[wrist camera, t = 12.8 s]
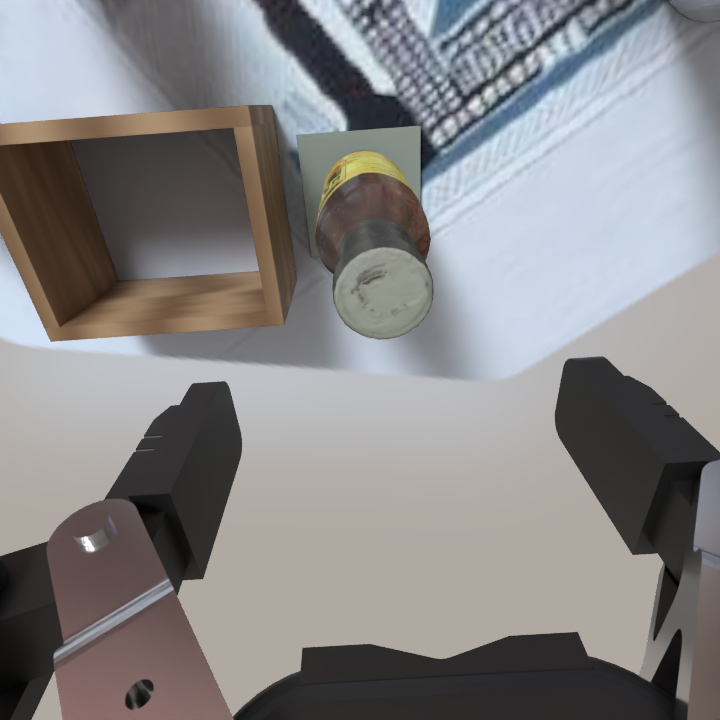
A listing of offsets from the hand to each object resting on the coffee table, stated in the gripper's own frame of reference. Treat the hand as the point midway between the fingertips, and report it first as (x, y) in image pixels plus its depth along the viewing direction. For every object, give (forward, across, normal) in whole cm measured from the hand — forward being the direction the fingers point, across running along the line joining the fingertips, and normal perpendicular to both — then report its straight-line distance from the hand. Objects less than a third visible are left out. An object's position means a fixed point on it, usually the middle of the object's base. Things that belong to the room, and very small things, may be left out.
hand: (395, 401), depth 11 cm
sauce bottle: (+28, 0, 0) cm, 28 cm away
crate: (+28, +14, 0) cm, 31 cm away
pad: (+28, 0, 0) cm, 28 cm away
